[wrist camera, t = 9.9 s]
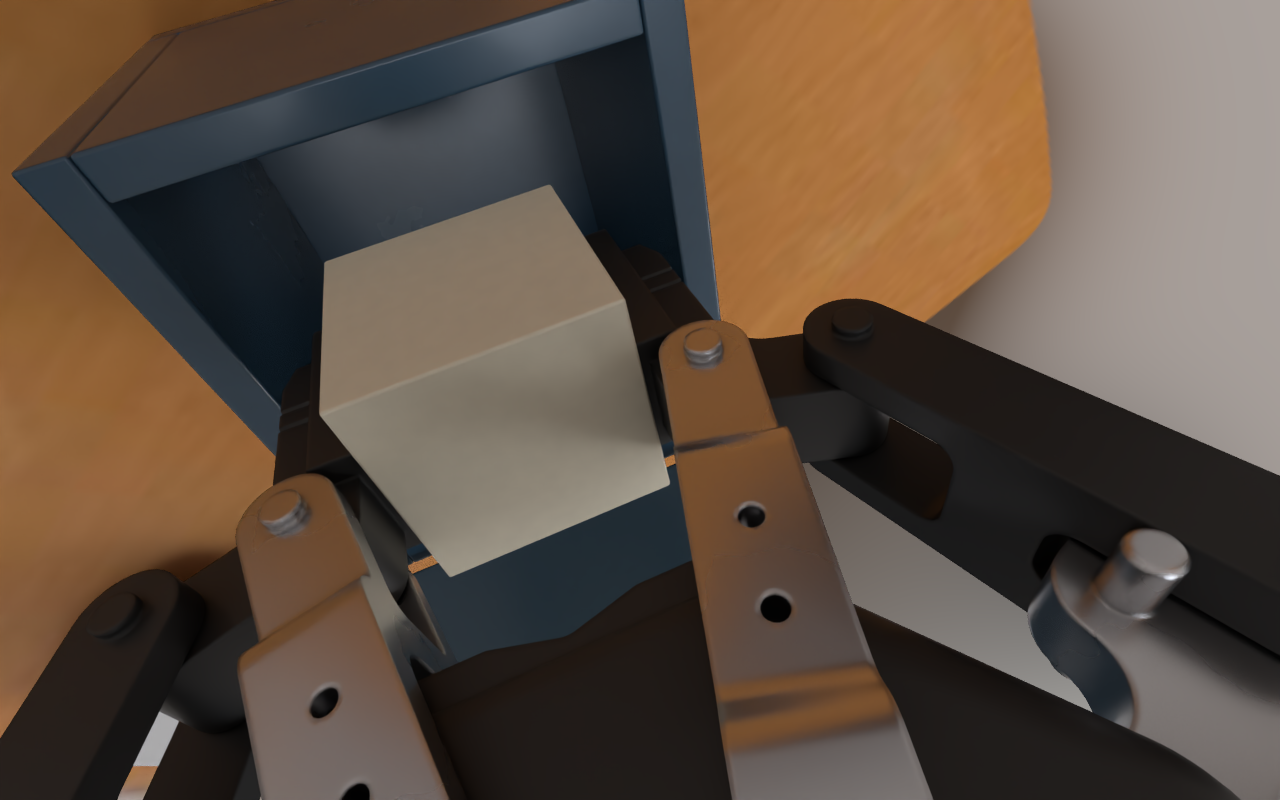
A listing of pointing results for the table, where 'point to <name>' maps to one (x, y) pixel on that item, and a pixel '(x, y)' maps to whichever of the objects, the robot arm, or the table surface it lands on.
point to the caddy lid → (559, 576)
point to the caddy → (365, 158)
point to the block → (488, 379)
